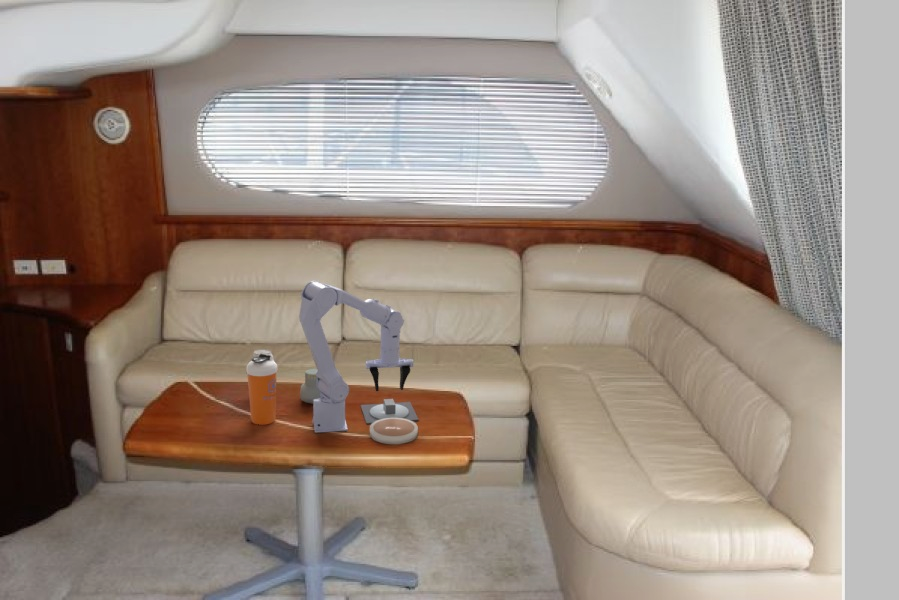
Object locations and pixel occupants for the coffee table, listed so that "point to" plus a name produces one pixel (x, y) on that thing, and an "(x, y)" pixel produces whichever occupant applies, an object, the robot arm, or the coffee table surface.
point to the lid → (389, 410)
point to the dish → (393, 430)
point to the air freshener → (310, 387)
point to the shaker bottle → (262, 389)
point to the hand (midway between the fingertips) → (389, 389)
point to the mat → (411, 415)
